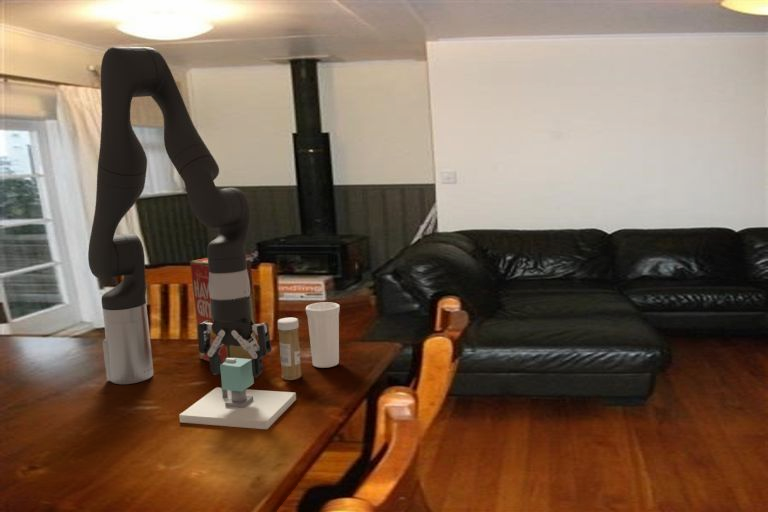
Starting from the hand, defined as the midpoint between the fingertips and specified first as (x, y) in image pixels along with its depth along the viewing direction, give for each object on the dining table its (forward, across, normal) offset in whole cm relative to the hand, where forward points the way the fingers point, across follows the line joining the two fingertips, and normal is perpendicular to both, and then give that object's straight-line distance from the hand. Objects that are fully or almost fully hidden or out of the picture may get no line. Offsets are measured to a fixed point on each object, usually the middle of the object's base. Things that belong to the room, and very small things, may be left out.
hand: (237, 374), depth 121 cm
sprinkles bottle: (+8, +3, +19) cm, 21 cm away
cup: (+8, +8, +28) cm, 30 cm away
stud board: (+8, 0, 0) cm, 8 cm away
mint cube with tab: (+2, 0, 0) cm, 3 cm away
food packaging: (+7, -18, +29) cm, 35 cm away
